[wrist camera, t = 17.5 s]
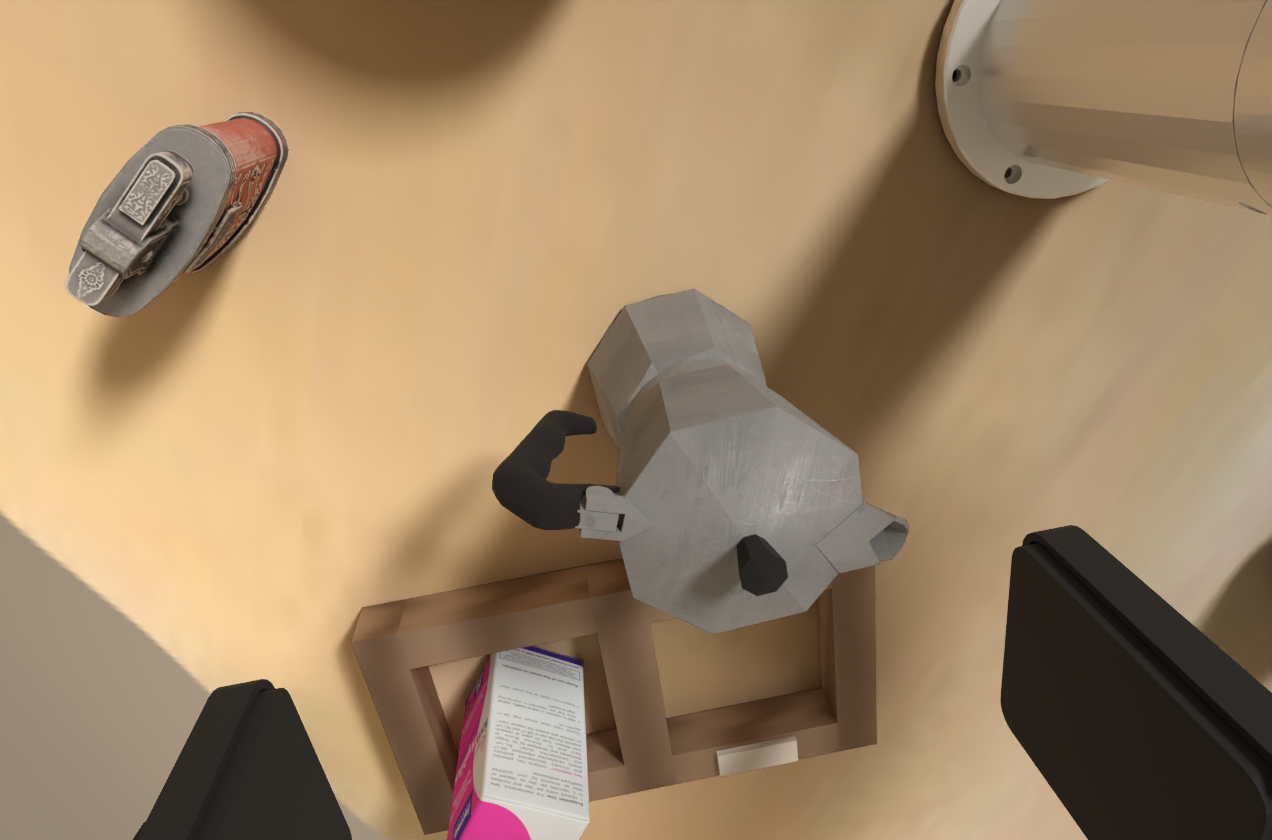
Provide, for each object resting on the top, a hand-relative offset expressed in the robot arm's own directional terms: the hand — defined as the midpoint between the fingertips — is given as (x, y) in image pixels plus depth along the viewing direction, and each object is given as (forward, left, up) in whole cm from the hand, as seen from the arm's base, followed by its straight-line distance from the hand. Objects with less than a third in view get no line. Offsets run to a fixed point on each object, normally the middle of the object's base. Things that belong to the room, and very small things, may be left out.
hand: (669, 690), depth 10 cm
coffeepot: (-3, +8, -31) cm, 32 cm away
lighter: (+15, -4, -31) cm, 34 cm away
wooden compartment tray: (+1, +27, -30) cm, 41 cm away
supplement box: (+8, +27, -31) cm, 41 cm away
